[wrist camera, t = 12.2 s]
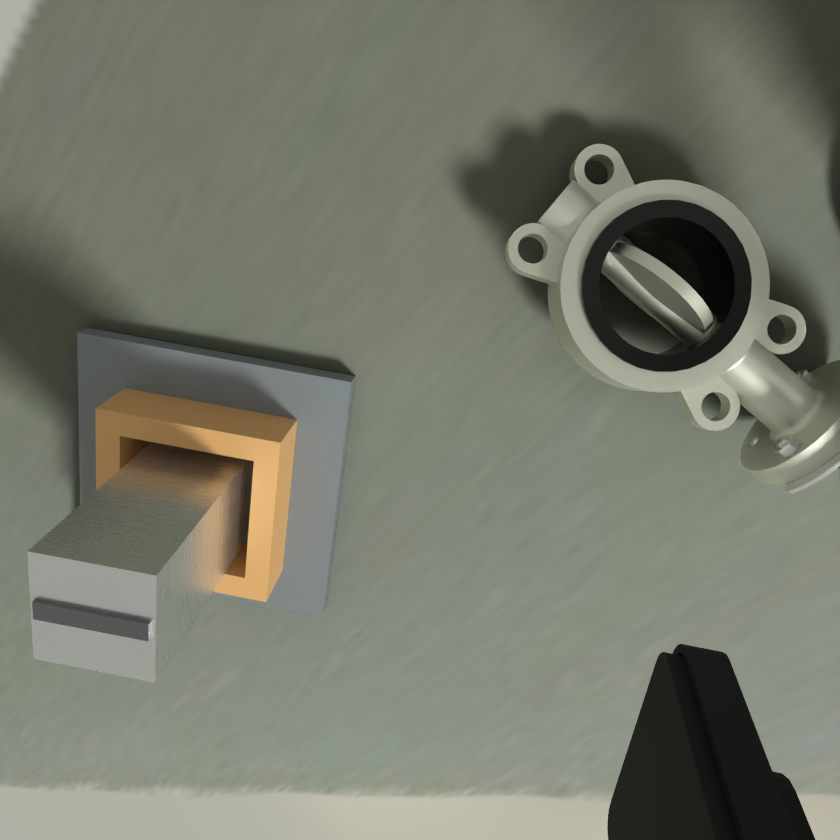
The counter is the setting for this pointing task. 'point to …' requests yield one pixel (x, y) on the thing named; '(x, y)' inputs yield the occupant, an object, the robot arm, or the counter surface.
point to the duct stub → (138, 561)
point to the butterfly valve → (685, 314)
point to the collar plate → (228, 447)
